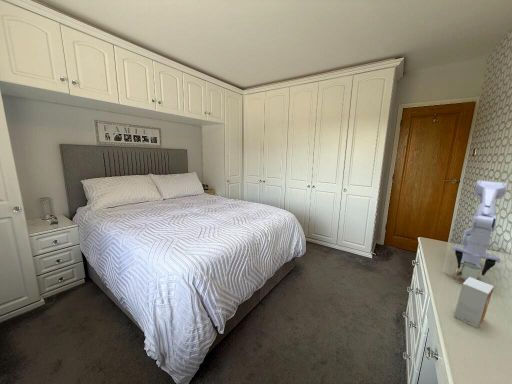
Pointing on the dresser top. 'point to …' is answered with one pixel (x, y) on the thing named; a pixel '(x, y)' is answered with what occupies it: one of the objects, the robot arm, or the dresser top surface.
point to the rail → (459, 272)
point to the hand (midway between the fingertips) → (470, 270)
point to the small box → (473, 301)
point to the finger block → (469, 271)
